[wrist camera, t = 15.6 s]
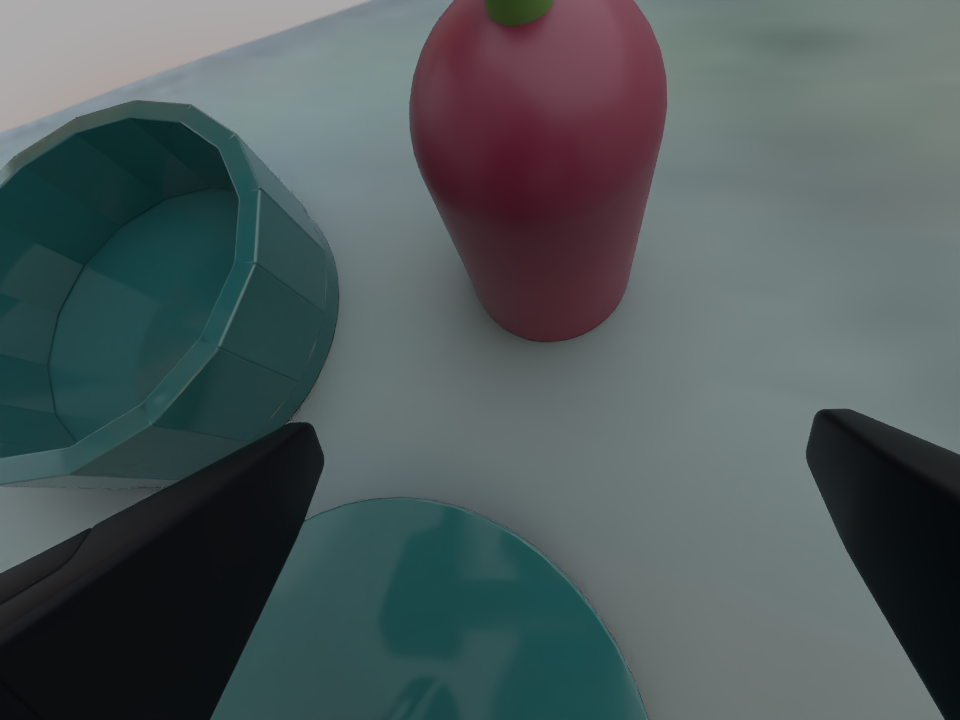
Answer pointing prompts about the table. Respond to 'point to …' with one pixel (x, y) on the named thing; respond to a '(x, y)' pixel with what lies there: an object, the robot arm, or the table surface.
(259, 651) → the pot lid
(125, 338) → the pot
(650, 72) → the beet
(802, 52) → the table surface
